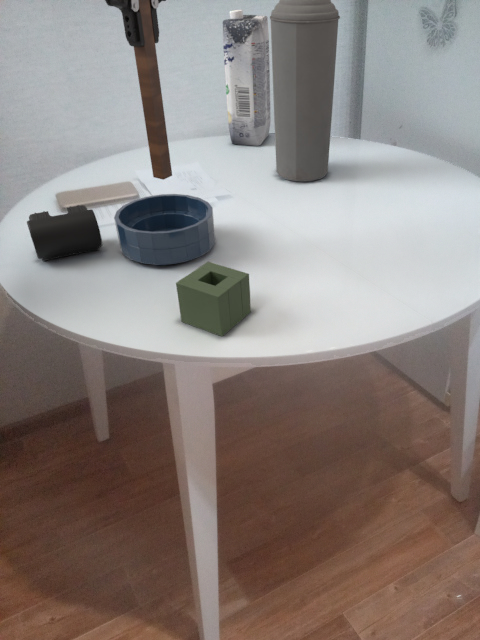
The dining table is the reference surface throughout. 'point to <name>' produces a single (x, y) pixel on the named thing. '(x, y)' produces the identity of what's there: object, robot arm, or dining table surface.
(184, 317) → the holder
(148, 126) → the stick
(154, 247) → the bowl
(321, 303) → the dining table surface
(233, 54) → the juice carton
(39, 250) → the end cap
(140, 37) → the robot arm
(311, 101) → the canister
